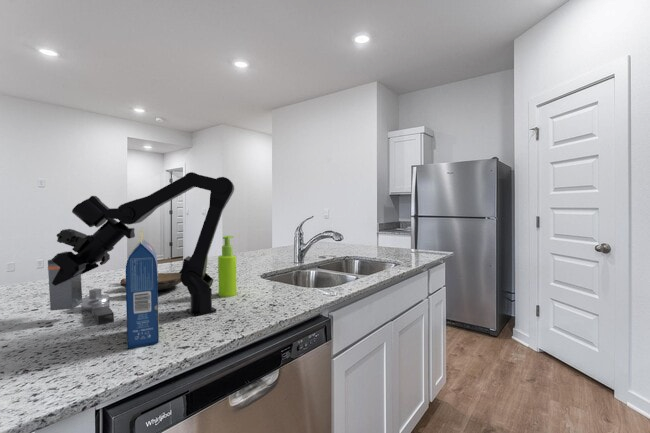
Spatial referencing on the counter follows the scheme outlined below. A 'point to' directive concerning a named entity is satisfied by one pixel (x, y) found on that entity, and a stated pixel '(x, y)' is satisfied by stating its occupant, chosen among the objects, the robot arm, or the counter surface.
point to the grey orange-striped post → (63, 290)
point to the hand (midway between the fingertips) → (59, 282)
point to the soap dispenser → (227, 270)
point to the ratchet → (98, 306)
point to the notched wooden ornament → (163, 280)
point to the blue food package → (142, 296)
